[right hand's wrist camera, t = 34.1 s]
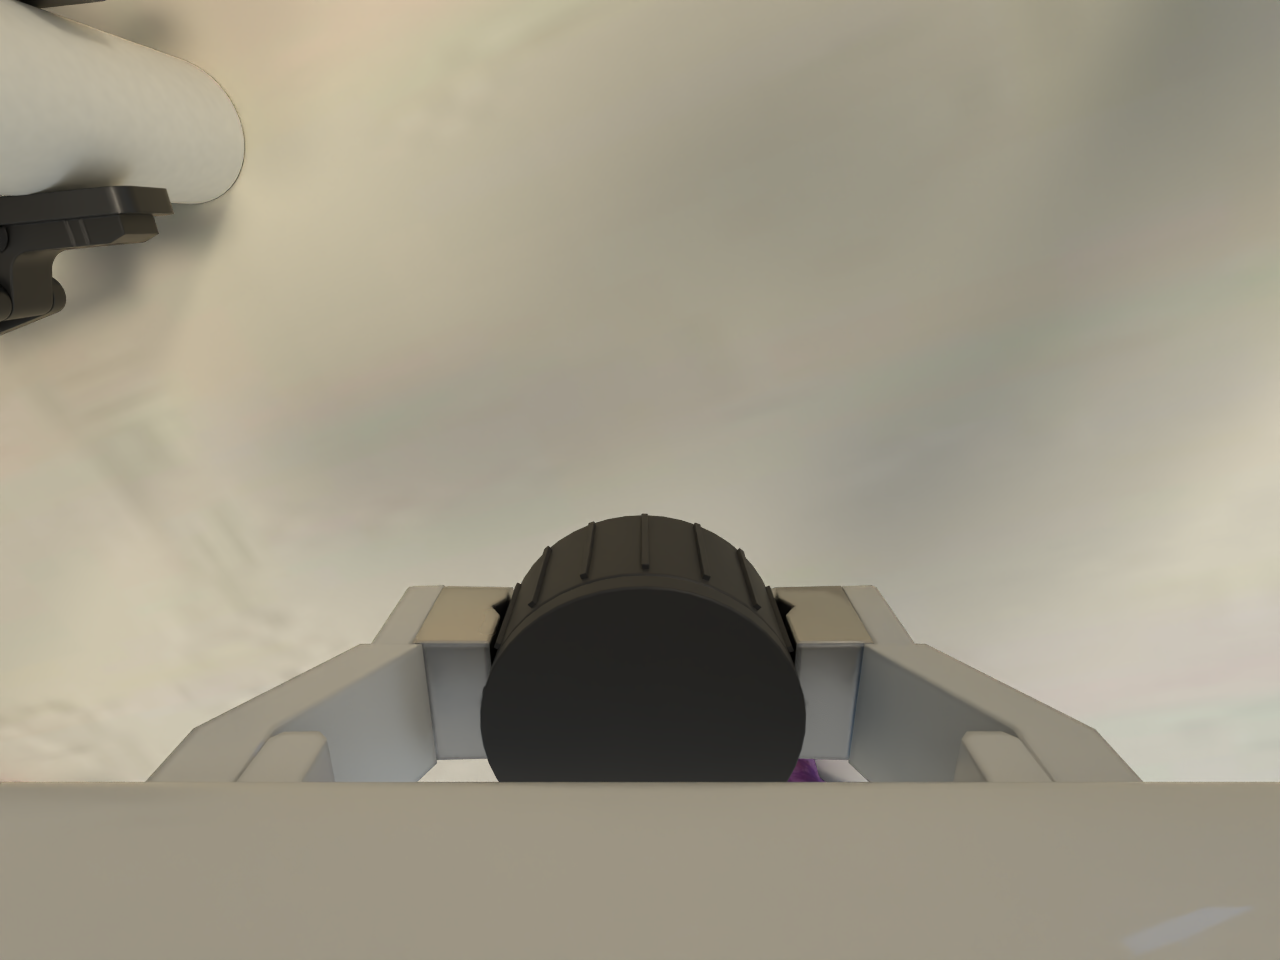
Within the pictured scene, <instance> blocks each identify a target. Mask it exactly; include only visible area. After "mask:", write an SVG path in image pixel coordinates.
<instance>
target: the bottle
mask: <svg viewBox="0 0 1280 960" xmlns="http://www.w3.org/2000/svg"><path fill="white" fill-rule="evenodd" d="M243 159H244V136H243V130H242V126H241V122H240V119H239V117H238V114H237V111H236V109H235V107H234V106H233V104H232V102H231V100H230V99H229V97H228V96H227V94H226V93H225V91H224V90H223V89H222V88H221V86H220V85H219V84H218V83H217V82H216V81H215V80H214V79H213V78H212V77H211V76H210V75H208V74H207V73H206V72H205V71H203V70H202V69H200V68H199V67H197V66H195V65H194V64H191V63H189V62H187V61H185V60H182V59H179V58H177V57H174V56H171V55H168V54H165V53H163V52H160V51H157V50H154V49H151V48H149V47H146V46H143V45H140V44H137V43H135V42H132V41H129V40H126V39H123V38H121V37H118V36H115V35H112V34H109V33H107V32H104V31H101V30H98V29H95V28H93V27H90V26H87V25H84V24H81V23H79V22H76V21H73V20H70V19H67V18H65V17H62V16H59V15H56V14H53V13H51V12H48V11H45V10H42V9H39V8H37V7H34V6H31V5H28V4H25V3H23V2H20V1H17V0H0V195H11V196H18V195H28V194H33V193H43V192H54V191H64V190H74V189H84V188H94V187H104V186H141V187H155V188H166V189H167V192H168V196H169V199H170V202H171V203H185V204H197V203H204V202H208V201H211V200H213V199H215V198H218V197H219V196H221V195H222V194H224V193H225V192H226V191H227V190H228V189H229V188H230V187H231V186H232V184H233V183H234V182H235V180H236V178H237V177H238V175H239V172H240V170H241V167H242V163H243Z"/></svg>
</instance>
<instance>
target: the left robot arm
mask: <svg viewBox="0 0 1280 960" xmlns="http://www.w3.org/2000/svg"><path fill="white" fill-rule="evenodd" d="M17 1H20V2H23V3H25V4H28V5H31V6H34V7H37V8H47V7H56V6H65V5H74V4H83V3H91V2H100V1H105V0H17ZM171 214H174V212H173V209H172V206H171V202H170V199H169V196H168V192H167V189H166V188H155V187H141V186H104V187H94V188H84V189H74V190H64V191H54V192H43V193H33V194H28V195H18V196H3V197H0V335H3V334H5V333H8V332H10V331H13V330H15V329H18V328H20V327H22V326H25V325H27V324H30V323H32V322H35V321H37V320H40V319H42V318H45V317H47V316H50V315H52V314H54V313H57V312H59V311H61V310H62V309H63V308H64V306H65V303H66V295H65V292H64V289H63V288H62V286H61V285H60V283H59V282H58V281H57V280H55V279H54V278H53V277H52V264H53V261H54V259H55V257H56V256H57V255H58V254H59V253H60V252H62V251H64V250H68V249H78V248H89V247H99V246H110V245H120V244H130V243H141V242H146V241H147V240H149V239H151V238H152V237H154V236H155V235H157V234H159V233H158V229H157V226H156V223H155V220H154V217H153V216H163V215H171Z"/></svg>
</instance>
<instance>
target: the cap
mask: <svg viewBox="0 0 1280 960" xmlns="http://www.w3.org/2000/svg"><path fill="white" fill-rule="evenodd" d="M494 648H496V649H498V650H497V653H496V656H495V658H494V661H493V664H492V667H491V670H490V673H489V676H488V679H487V682H486V685H485V688H484V689H483V691H482V702H481V708H480V730H481V736H482V742H483V747H484V750H485V753H486V756H487V759H488V762H489V764H490V766H491V768H492V770H493V772H494V774H495V776H496V778H497V780H498V781H499V782H787V781H788V779H789V778H790V776H791V774H792V772H793V770H794V768H795V767H796V764H797V761H798V759H799V756H800V753H801V750H802V746H803V741H804V736H805V731H806V708H805V700H804V694H803V691H802V688H801V684H800V681H799V678H798V675H797V672H796V669H795V667H794V664H793V661H792V658H791V655H790V652H792V651H794V650H793V647H792V645H791V642H790V639H789V636H788V634H787V631H786V628H785V625H784V623H783V620H782V617H781V614H780V612H779V609H778V606H777V604H776V601H775V598H774V595H773V593H772V590H771V588H770V586H767V587H765V585H764V583H763V581H762V579H761V577H760V576H759V574H758V573H757V571H756V570H755V568H754V567H753V566H752V564H751V563H750V562H749V561H748V560H747V559H746V557H745V554H744V551H743V550H741V549H740V548H739V549H738V550H737V549H736V548H735V547H733V546H732V545H731V544H730V543H729V542H727V541H725V540H724V539H722V538H721V537H719V536H718V535H716V534H715V533H712V532H710V531H708V530H706V529H704V528H702V527H701V526H700V524H697V523H694V524H691V523H688V522H685V521H682V520H678V519H673V518H667V517H661V516H648V514H642V515H640V516H624V517H618V518H613V519H607V520H604V521H600V522H597V523H595V522H591V523H589V524H588V526H586V527H584V528H581V529H579V530H577V531H575V532H573V533H571V534H569V535H568V536H566V537H565V538H563V539H561V540H560V541H558V542H557V543H556V544H554V545H553V546H552V547H551V548H550V547H549V546H547V547H546V548H545V549H544V552H543V555H542V556H541V557H540V558H539V559H538V560H537V561H536V562H535V563H534V565H533V566H532V567H531V569H530V570H529V572H528V573H527V574H526V576H525V577H524V579H523V581H522V583H521V584H519V583H517V584H516V586H515V589H514V592H513V594H512V597H511V600H510V603H509V606H508V609H507V611H506V614H505V617H504V620H503V623H502V626H501V628H500V631H499V634H498V637H497V640H496V643H495V645H494Z"/></svg>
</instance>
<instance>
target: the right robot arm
mask: <svg viewBox="0 0 1280 960" xmlns="http://www.w3.org/2000/svg"><path fill="white" fill-rule="evenodd" d="M771 590H772V593H773V595H774V598H775V601H776V604H777V606H778V609H779V612H780V614H781V617H782V620H783V623H784V625H785V628H786V631H787V634H788V636H789V639H790V642H791V645H792V647H793V650H794V651H792V652H790V655H791V658H792V661H793V664H794V667H795V669H796V672H797V675H798V678H799V681H800V684H801V688H802V691H803V694H804V700H805V708H806V731H805V736H804V741H803V746H802V750H801V753H800V756H799V759H834V760H849V763H850V764H851V765H852V766H853V767H854V768H855V769H856V770H857V771H858V772H859V773H860V774H861V775H862V776H863V777H865V778H866V779H867V780H868V781H869V782H417V781H418V780H420V779H421V778H422V777H423V776H424V775H425V774H426V773H427V772H428V771H429V770H430V769H431V768H432V767H433V766H434V765H436V764H437V760H451V759H487V756H486V753H485V750H484V747H483V742H482V736H481V730H480V708H481V702H482V691H483V689H484V688H485V685H486V682H487V679H488V676H489V673H490V670H491V667H492V664H493V661H494V658H495V656H496V653H497V650H498V649H496V648H494V645H495V643H496V640H497V637H498V634H499V631H500V628H501V626H502V623H503V620H504V617H505V614H506V611H507V609H508V606H509V603H510V600H511V597H512V594H513V592H514V590H513V587H469V586H447V587H445V586H444V585H437V586H412V587H409V588H408V589H407V590H406V592H405V593H404V595H403V596H402V598H401V599H400V601H399V602H398V604H397V605H396V607H395V608H394V610H393V611H392V613H391V614H390V616H389V617H388V619H387V620H386V622H385V624H384V625H383V627H382V628H381V630H380V631H379V633H378V634H377V636H376V637H375V639H374V640H373V642H372V643H371V644H359V645H358V646H356V647H354V648H352V649H350V650H348V651H346V652H344V653H342V654H340V655H338V656H336V657H334V658H332V659H330V660H328V661H326V662H324V663H322V664H320V665H318V666H316V667H314V668H312V669H310V670H308V671H306V672H304V673H302V674H300V675H298V676H296V677H294V678H292V679H290V680H288V681H286V682H284V683H283V684H281V685H279V686H277V687H275V688H273V689H271V690H269V691H267V692H265V693H263V694H261V695H259V696H257V697H255V698H253V699H251V700H249V701H247V702H245V703H243V704H241V705H239V706H237V707H235V708H233V709H231V710H229V711H227V712H225V713H223V714H221V715H219V716H217V717H215V718H213V719H211V720H209V721H208V722H206V723H204V724H202V725H200V726H198V727H196V728H194V729H193V730H192V731H191V732H190V733H189V734H188V735H187V736H186V737H185V739H184V740H183V741H182V742H181V743H180V744H179V745H178V746H177V747H176V748H175V750H174V751H173V752H172V753H171V754H170V755H169V756H168V757H167V758H166V760H165V761H164V762H163V763H162V764H161V765H160V766H159V767H158V768H157V769H156V771H155V772H154V773H153V774H152V775H151V776H150V777H149V778H148V779H147V781H146V782H0V960H1280V782H1143V781H1142V780H1141V779H1140V778H1139V777H1138V776H1137V774H1136V773H1135V772H1134V771H1133V770H1132V769H1131V768H1130V767H1129V766H1128V765H1127V764H1126V762H1125V761H1124V760H1123V759H1122V758H1121V757H1120V756H1119V755H1118V754H1117V753H1116V751H1115V750H1114V749H1113V748H1112V747H1111V746H1110V745H1109V744H1108V743H1107V742H1106V741H1105V739H1104V738H1103V737H1102V736H1101V735H1100V734H1099V733H1098V732H1097V731H1096V730H1095V729H1093V728H1091V727H1089V726H1087V725H1085V724H1083V723H1081V722H1079V721H1077V720H1075V719H1074V718H1072V717H1070V716H1068V715H1066V714H1064V713H1062V712H1060V711H1058V710H1056V709H1054V708H1052V707H1050V706H1048V705H1046V704H1044V703H1042V702H1040V701H1038V700H1036V699H1034V698H1032V697H1030V696H1028V695H1026V694H1024V693H1022V692H1020V691H1018V690H1016V689H1014V688H1012V687H1010V686H1008V685H1006V684H1004V683H1002V682H1000V681H998V680H996V679H994V678H992V677H990V676H988V675H986V674H984V673H982V672H980V671H978V670H976V669H974V668H972V667H970V666H968V665H966V664H964V663H962V662H960V661H958V660H956V659H954V658H952V657H950V656H949V655H947V654H945V653H943V652H941V651H939V650H937V649H935V648H933V647H931V646H929V645H927V644H915V643H914V642H913V640H912V639H911V637H910V636H909V634H908V633H907V631H906V630H905V628H904V627H903V626H902V624H901V623H900V621H899V620H898V618H897V617H896V615H895V614H894V612H893V611H892V609H891V608H890V607H889V605H888V604H887V602H886V601H885V599H884V598H883V596H882V595H881V593H880V592H879V590H878V589H877V588H876V587H874V586H872V585H864V586H842V587H841V586H817V587H775V588H772V589H771Z"/></svg>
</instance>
